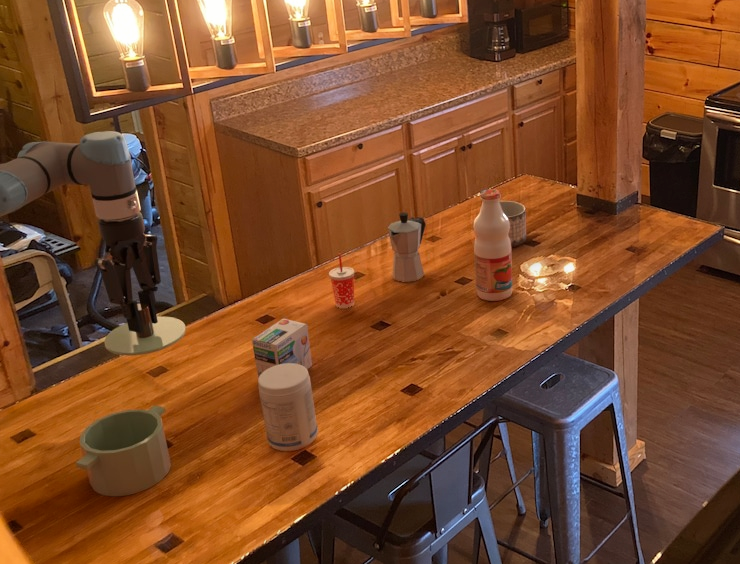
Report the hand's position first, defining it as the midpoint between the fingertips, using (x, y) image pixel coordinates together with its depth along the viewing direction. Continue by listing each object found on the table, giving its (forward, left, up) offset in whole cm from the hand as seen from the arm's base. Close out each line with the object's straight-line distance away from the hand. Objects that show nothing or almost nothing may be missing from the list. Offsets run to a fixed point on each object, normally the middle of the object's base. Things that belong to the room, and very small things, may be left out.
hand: (143, 326), depth 185 cm
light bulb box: (+14, +22, -21) cm, 34 cm away
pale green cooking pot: (+8, -17, -21) cm, 28 cm away
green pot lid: (0, 0, -2) cm, 2 cm away
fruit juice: (+41, +73, -21) cm, 86 cm away
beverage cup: (+8, +55, -21) cm, 60 cm away
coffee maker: (+15, +76, -21) cm, 80 cm away
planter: (+30, +104, -21) cm, 110 cm away
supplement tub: (+30, +2, -21) cm, 37 cm away
